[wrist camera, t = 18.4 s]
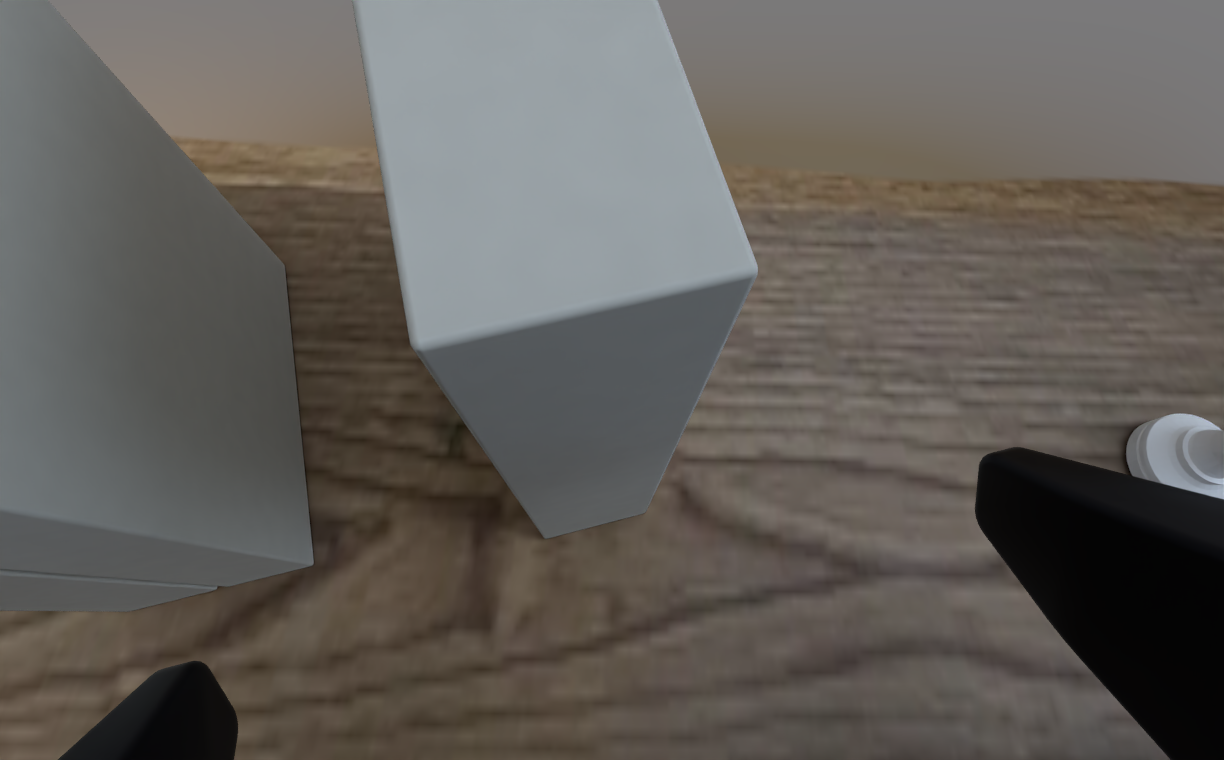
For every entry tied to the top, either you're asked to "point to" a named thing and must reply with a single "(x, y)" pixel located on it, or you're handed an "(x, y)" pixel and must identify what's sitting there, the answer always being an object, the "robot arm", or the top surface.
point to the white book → (555, 236)
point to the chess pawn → (1179, 453)
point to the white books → (131, 351)
